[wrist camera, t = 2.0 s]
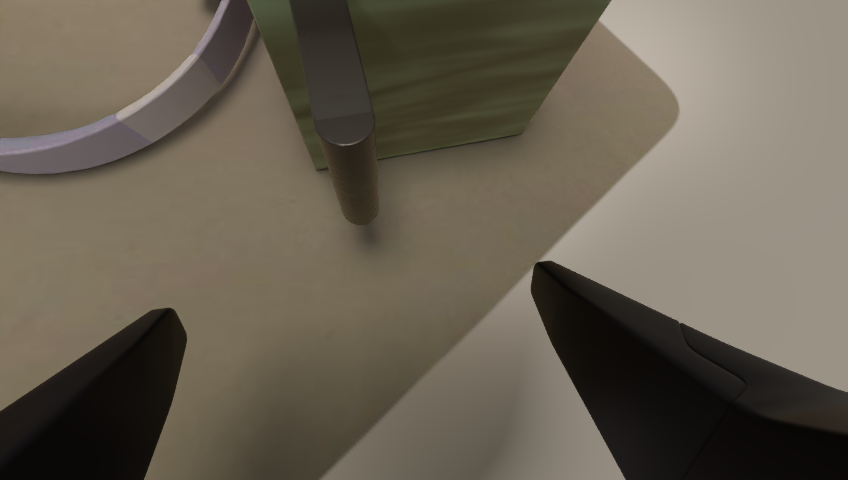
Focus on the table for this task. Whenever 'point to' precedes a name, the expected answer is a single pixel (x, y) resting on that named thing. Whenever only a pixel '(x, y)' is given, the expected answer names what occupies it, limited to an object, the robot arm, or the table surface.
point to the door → (413, 75)
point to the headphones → (140, 107)
